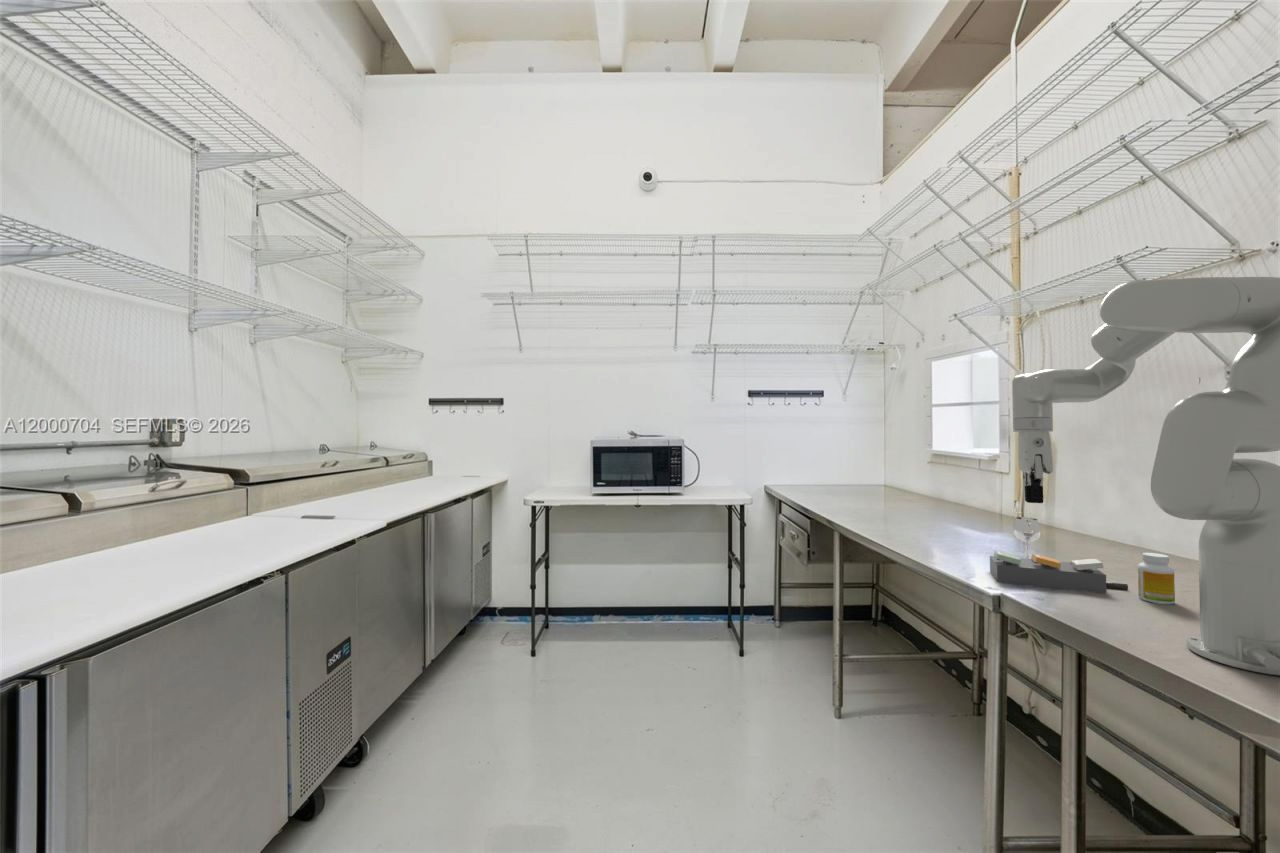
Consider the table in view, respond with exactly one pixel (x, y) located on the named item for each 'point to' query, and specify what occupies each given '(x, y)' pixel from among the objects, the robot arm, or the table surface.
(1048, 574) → the power strip
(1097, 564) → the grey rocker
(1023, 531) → the wineglass
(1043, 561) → the orange white-striped slab
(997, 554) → the green rocker
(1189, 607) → the table surface
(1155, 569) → the supplement bottle
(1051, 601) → the table surface
